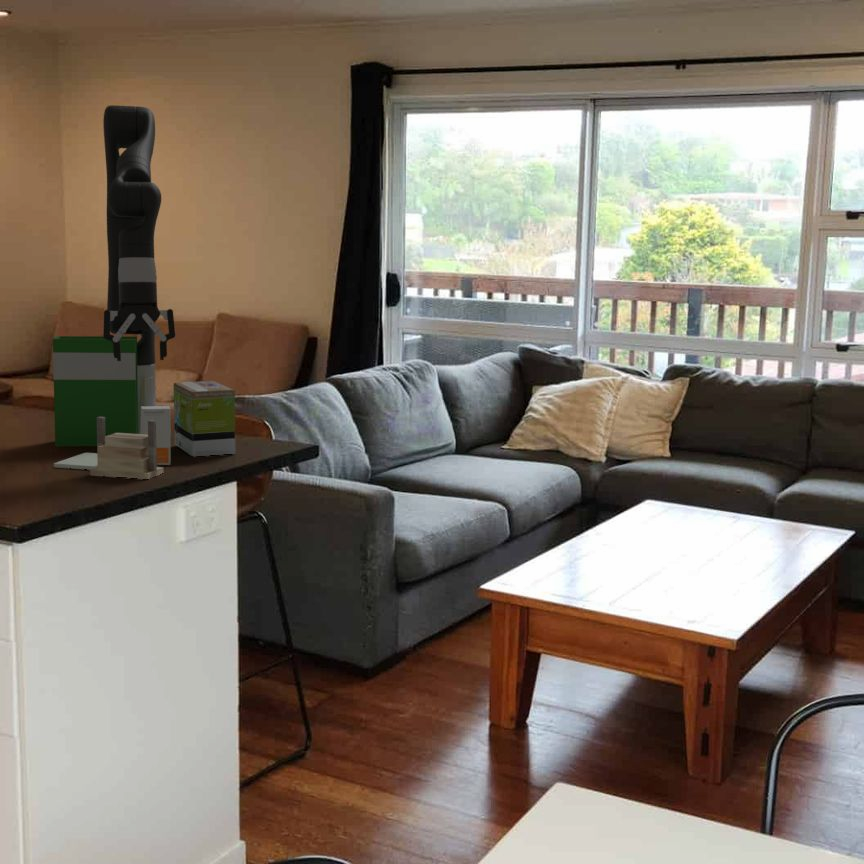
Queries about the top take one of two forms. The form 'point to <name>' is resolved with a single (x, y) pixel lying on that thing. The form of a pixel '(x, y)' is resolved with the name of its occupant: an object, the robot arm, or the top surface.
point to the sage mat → (79, 462)
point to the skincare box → (159, 430)
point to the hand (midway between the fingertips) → (140, 360)
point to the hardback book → (93, 388)
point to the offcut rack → (126, 453)
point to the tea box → (204, 418)
